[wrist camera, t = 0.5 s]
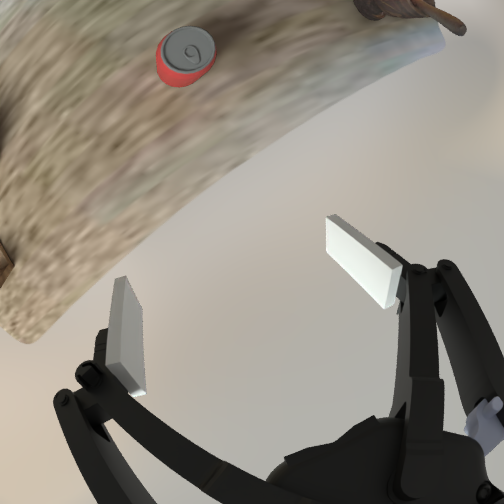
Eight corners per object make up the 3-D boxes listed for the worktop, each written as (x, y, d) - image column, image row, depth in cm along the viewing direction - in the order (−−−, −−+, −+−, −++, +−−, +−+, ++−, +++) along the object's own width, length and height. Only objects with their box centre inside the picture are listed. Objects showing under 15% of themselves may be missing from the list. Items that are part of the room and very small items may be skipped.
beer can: (172, 96, 34) (177, 90, 24) (148, 62, 30) (143, 43, 20) (212, 71, 33) (232, 57, 23) (188, 37, 30) (200, 11, 20)
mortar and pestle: (398, 29, 35) (481, 27, 19) (375, 43, 36) (464, 40, 20) (368, -17, 29) (448, -37, 13) (341, -7, 30) (426, -33, 14)
